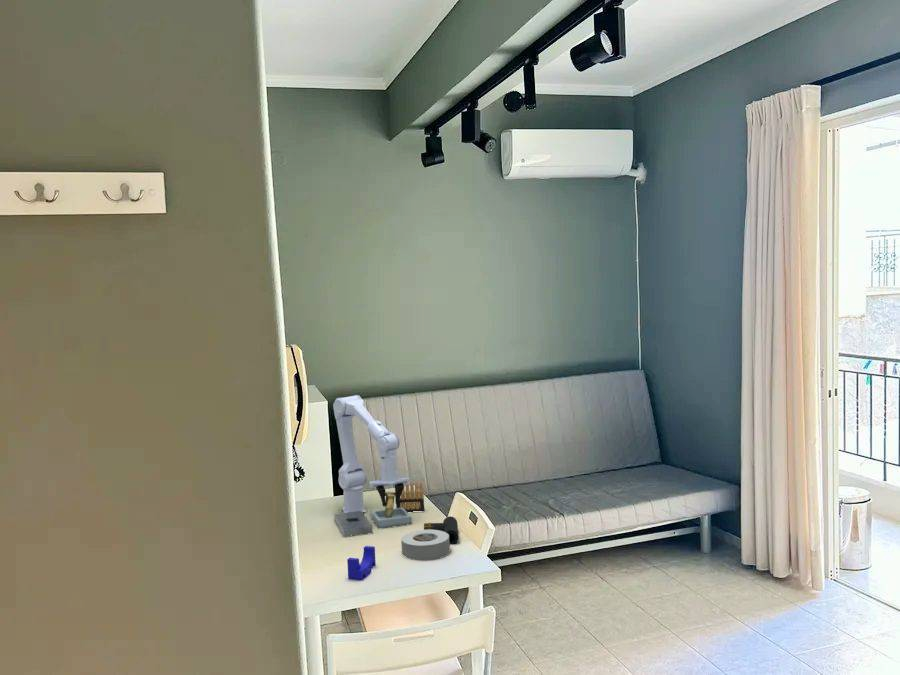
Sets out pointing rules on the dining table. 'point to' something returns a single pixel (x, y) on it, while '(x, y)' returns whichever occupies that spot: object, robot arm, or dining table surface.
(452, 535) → the black power drill
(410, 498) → the ammunition clip
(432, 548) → the tape roll
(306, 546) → the dining table surface
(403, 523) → the tray
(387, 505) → the gold flared cylinder
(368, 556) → the cable clip
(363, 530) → the metal plate with hole
